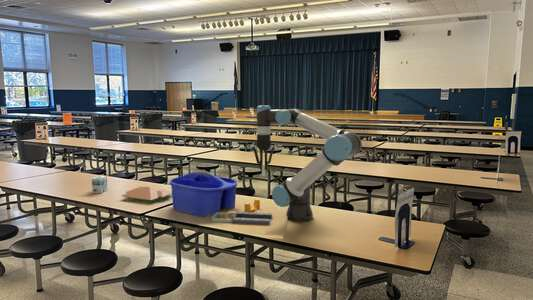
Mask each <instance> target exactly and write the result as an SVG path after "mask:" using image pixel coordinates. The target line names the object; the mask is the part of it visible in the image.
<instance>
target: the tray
mask: <svg viewBox="0 0 533 300" xmlns="http://www.w3.org/2000/svg"><path fill="white" fill-rule="evenodd" d="M222 212H223V211H220V212H216V213H215V214H212V217H210V222H215V223H216V222H217V223H218V222H220V223H232V219H222V218H221V217H220V218H219V217H218V216H221V213H222Z"/></svg>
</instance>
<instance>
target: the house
mask: <svg viewBox="0 0 533 300" xmlns="http://www.w3.org/2000/svg"><path fill="white" fill-rule="evenodd" d="M170 195H172V190H167V189H162V188H157V187H151V186H138V187H136V188H133V189H130V190H127V191H125V194H122V195H121V197H125V198H131V199H133V200H136V201H137V202H138V203H143V202H145V203H146V204H148V203H150V204H151V203H156V202H160V201H161V199H163V198H164V200H165V199H166V200H167V199H168V198H169V199H170V198H171V196H170ZM135 198H136V199H135ZM157 200H158V201H157ZM159 200H160V201H159ZM142 201H143V202H142Z"/></svg>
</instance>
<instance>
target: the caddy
mask: <svg viewBox="0 0 533 300" xmlns="http://www.w3.org/2000/svg"><path fill="white" fill-rule="evenodd" d="M169 185H170V186H171V187H170V188H171V191H172V194H171V197H172V208H173V209H174V211H175V210H176V211H177V212H181V213H185V214H190V215H194V216H197V217H198V216H199V217H208V216H210V215H212V216H213V215H214V214H215V213H216V212H221V210H220V209H227V210H228V209H229V210H230V209H235V208H236V198H237V196H236V193H237V186H238V181H237V180H235V179H233V178H228V177H221V176H216V175H215V174H213V173H211V172H209V171H206V170H196V171H192V172H190V173H186V174H184V175H180V176H177V177H173V178H171V180H170V181H169Z"/></svg>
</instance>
